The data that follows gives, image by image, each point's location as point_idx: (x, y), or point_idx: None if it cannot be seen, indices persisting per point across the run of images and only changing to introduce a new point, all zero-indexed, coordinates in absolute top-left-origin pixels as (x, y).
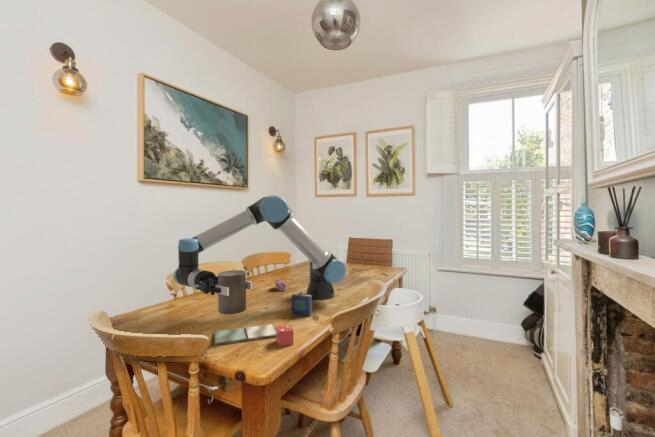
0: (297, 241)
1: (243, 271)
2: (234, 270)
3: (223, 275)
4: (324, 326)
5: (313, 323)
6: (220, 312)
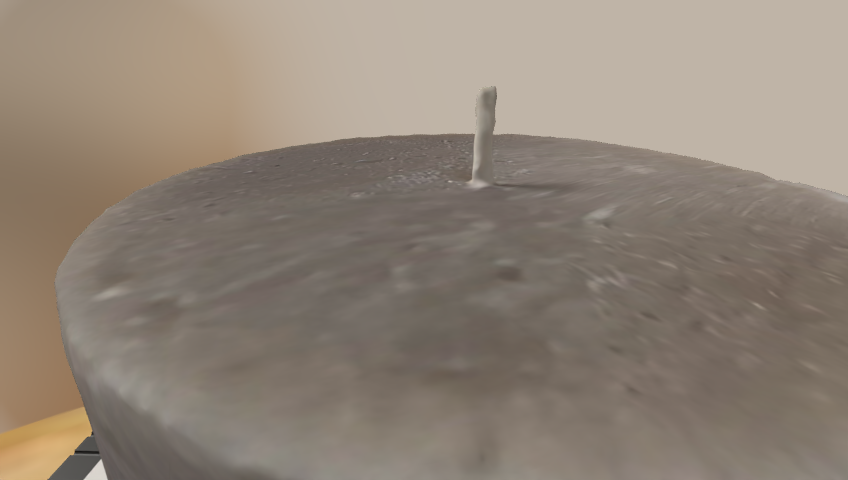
0: None
1: (267, 156)
2: (161, 261)
3: (765, 176)
4: (83, 408)
5: (23, 467)
6: None
